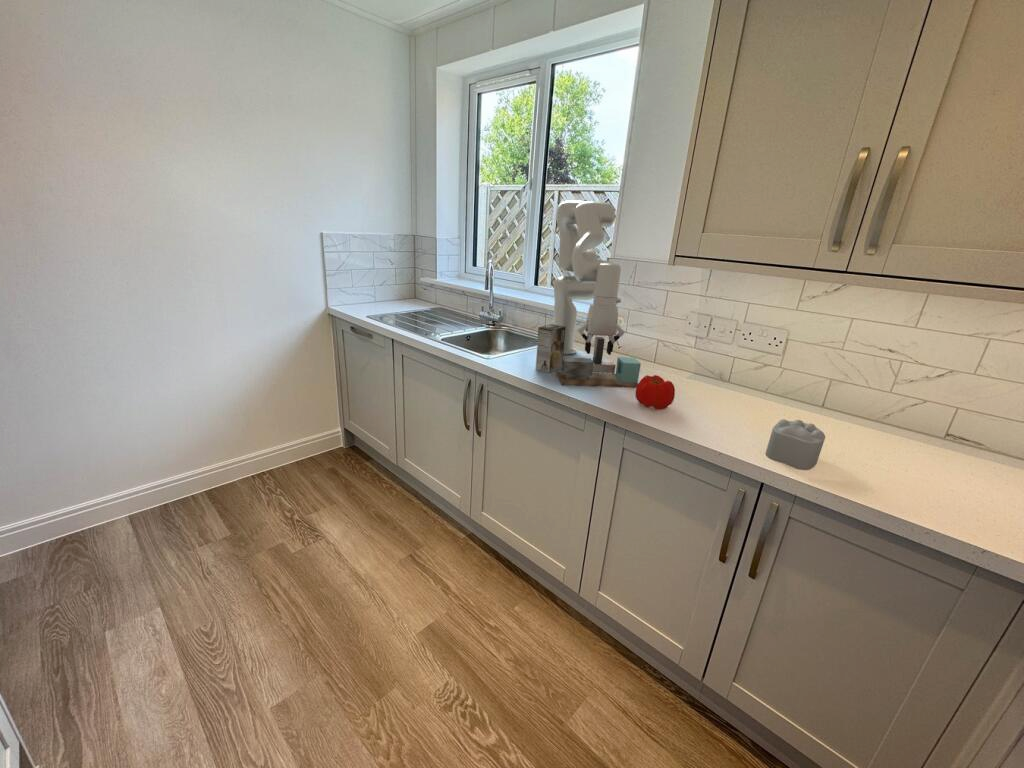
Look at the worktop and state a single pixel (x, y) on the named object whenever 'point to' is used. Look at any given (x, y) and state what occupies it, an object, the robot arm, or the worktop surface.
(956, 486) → the worktop surface
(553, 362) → the coffee box
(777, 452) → the lumpy-topped squat cylinder
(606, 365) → the grey l-shaped piece
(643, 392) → the tomato
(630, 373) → the socket block
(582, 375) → the sleeve base
